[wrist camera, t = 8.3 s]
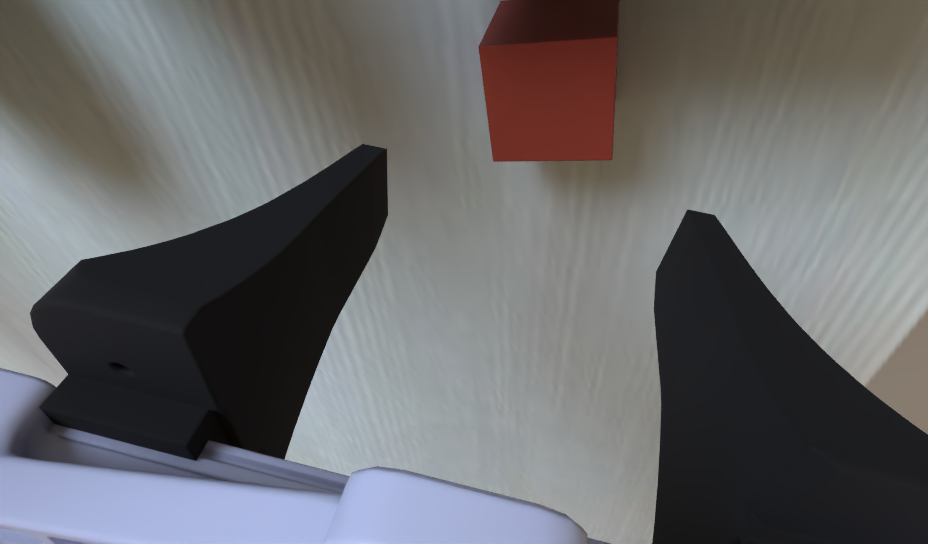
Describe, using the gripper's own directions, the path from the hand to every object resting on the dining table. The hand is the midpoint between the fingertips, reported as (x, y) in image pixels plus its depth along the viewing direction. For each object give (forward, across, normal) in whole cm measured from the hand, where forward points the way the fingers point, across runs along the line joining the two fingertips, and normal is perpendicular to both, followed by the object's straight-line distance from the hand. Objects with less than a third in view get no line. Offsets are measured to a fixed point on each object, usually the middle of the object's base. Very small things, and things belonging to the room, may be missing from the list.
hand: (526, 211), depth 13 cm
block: (+9, 0, 0) cm, 9 cm away
